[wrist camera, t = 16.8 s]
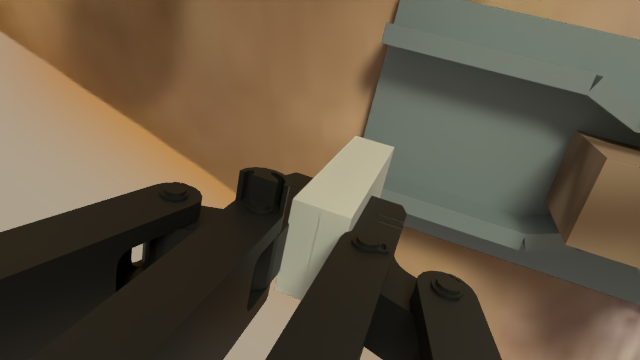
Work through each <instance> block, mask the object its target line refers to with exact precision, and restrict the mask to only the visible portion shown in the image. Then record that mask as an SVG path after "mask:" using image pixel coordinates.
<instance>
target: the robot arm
mask: <svg viewBox="0 0 640 360" xmlns="http://www.w3.org/2000/svg"><path fill="white" fill-rule="evenodd" d="M394 148H395V147H392V146H389V145H385V144H382V143H379V142H375V141H372V140H369V139H365V138H362V137H358V136H355V137H354V138H353V139H352V140H351V141H350V142H349V143H348V144H347V145H346V146H345V147H344V148H343V149H342V150H341V151H340V152H339V153H338V154H337V155H336V156H335V157H334V158H333V159H332V160H331V161H330V162H329V163H328V164H327V165H326V166H325V167H324V168H323V169H322V170H321V171H320V172H319V173H318V174H317V175H316V176H315V177H314V178H312V177H309V176H306V175H303V174H300V173H297V172H296V173H292V174H288V175H284V174H282V173H280V172H277V171H275V170H271V169H267V168H258V167H252V168H245V169H243V170H240V174H239V180H238V187H237V194H236V200H235V201H234V202H232V203H231V204H230V205H228V206H227V207H226V208H224V209H219V208H213V207H207V206H201V201H202V195H201V193H200V191H198V190H197V189H196V188H194V187H191V186H189V185H187V184H184V183H181V184H180V183H179V182H173V183H161V184H156V185H153V186H150V187H146V188H143V189H140V190H137V191H133V192H130V193H127V194H124V195H120V196H117V197H114V198H111V199H107V200H104V201H101V202H98V203H94V204H91V205H88V206H85V207H81V208H78V209H75V210H72V211H68V212H65V213H62V214H59V215H55V216H52V217H49V218H46V219H42V220H39V221H36V222H33V223H29V224H26V225H23V226H19V227H16V228H13V229H10V230H7V231H3V232H0V360H223V359H224V358H225V356H226V355H227V354H228V352H229V351H230V349H231V348H232V347H233V345H234V344H235V343H236V341H237V340H238V338H239V337H240V336H241V334H242V333H243V332H244V330H245V329H246V327H247V326H248V325H249V323H250V322H251V320H252V319H253V318H254V316H255V315H256V314H257V312H258V311H259V309H260V308H261V307H262V305H263V304H264V303H265V301H266V299H267V296H268V292H269V288H270V283H271V282H272V280H273V279H274V278H275V276H276V275H277V279H276V284H275V288H274V290H276V291H279V292H281V293H284V294H286V295H289V296H292V297H294V298H297V299H300V300H301V302H300V304H299V305H298V307H297V309H296V310H295V312H294V314H293V315H292V317H291V319H290V320H289V322H288V324H287V325H286V327H285V329H284V330H283V332H282V333H281V335H280V337H279V338H278V340H277V342H276V343H275V345H274V346H273V348H272V350H271V351H270V353H269V355H268V356H267V358H266V360H360V357H361V354H362V350H363V348H364V347H365V348H367V349H369V350H370V351H371V352H373V353H374V354H376V355H377V356H378V357H380V358H381V359H383V360H502V359H501V356H500V354H499V351H498V349H497V346H496V344H495V341H494V339H493V336H492V334H491V331H490V328H489V326H488V323H487V321H486V318H485V316H484V313H483V311H482V308H481V306H480V303H479V301H478V298H477V296H476V294H475V293H474V291H473V290H472V288H471V287H470V286H468V285H467V284H466V283H465V282H464V281H462V280H461V279H459V278H458V277H456V276H454V275H451V274H447V273H444V272H439V271H427V272H423V273H421V274H420V275H419V276H418V278H416V277H414V276H412V275H411V274H409V273H408V272H406V271H405V270H404V269H402V268H401V267H400V266H399V264H398V263H397V262H396V260H395V257H394V253H395V250H396V247H397V244H398V241H399V237H400V234H401V231H402V228H403V225H404V222H405V219H406V216H407V213H406V211H405V209H404V207H403V205H400V204H396V203H393V202H390V201H387V200H384V199H381V198H380V196H381V192H382V189H383V185H384V182H385V179H386V175H387V172H388V168H389V165H390V161H391V158H392V154H393V151H394ZM140 244H143V255H142V260H140V261H138V262H133V263H132V261H131V253H132V248H133V247H136V246H138V245H140Z"/></svg>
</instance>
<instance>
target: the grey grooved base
mask: <svg viewBox="0 0 640 360" xmlns="http://www.w3.org/2000/svg"><path fill="white" fill-rule="evenodd" d="M381 43H383V44H387V45H388V47H387V51H386V54H385V58H384V62H383V66H382V69H381V73H380V77H379V81H378V84H377V88H376V92H375V96H374V99H373V103H372V107H371V111H370V114H369V118H368V122H367V126H366V129H365V133H364V137H363V138H365V139H369V140H372V141H375V142H379V143H382V144H385V145H389V146H392V147H395V148H394V151H393V154H392V158H391V161H390V165H389V168H388V172H387V175H386V179H385V182H384V185H383V189H382V192H381V196H380V198H381V199H384V200H387V201H390V202H393V203H396V204H400V205H403V207H404V209H405V211H406V213H407V216H406V219H405V222H404V225H403V226H404V227H407V228H410V229H413V230H416V231H419V232H422V233H425V234H428V235H431V236H434V237H437V238H440V239H443V240H446V241H449V242H452V243H455V244H458V245H461V246H464V247H467V248H470V249H473V250H476V251H479V252H482V253H485V254H488V255H491V256H494V257H497V258H500V259H503V260H506V261H509V262H512V263H515V264H518V265H521V266H524V267H527V268H530V269H533V270H536V271H539V272H542V273H545V274H547V275H550V276H553V277H556V278H559V279H562V280H565V281H568V282H571V283H574V284H577V285H580V286H583V287H586V288H589V289H592V290H595V291H598V292H601V293H604V294H607V295H610V296H613V297H616V298H619V299H622V300H625V301H628V302H631V303H634V304H637V305H640V268H636V267H633V266H630V265H627V264H624V263H621V262H618V261H615V260H611V259H608V258H605V257H602V256H599V255H596V254H593V253H590V252H587V251H583V250H580V249H577V248H574V247H571V246H568V245H565V243H564V241H563V239H562V237H561V235H560V232H559V230H558V228H557V226H556V224H555V221H554V219H553V217H552V215H551V213H550V211H549V208H548V206H547V204H546V202H545V199H546V196H547V194H548V192H549V190H550V188H551V185H552V183H553V181H554V179H555V176H556V174H557V172H558V170H559V167H560V165H561V163H562V161H563V159H564V156H565V154H566V152H567V150H568V147H569V145H570V143H571V141H572V138H573V136H574V134H575V132H576V130H578V131H582V132H585V133H589V134H593V135H596V136H600V137H604V138H607V139H611V140H615V141H619V142H622V143H626V144H630V145H633V146H637V147H640V40H638V39H634V38H630V37H625V36H621V35H616V34H612V33H607V32H603V31H599V30H594V29H590V28H585V27H581V26H576V25H572V24H567V23H563V22H559V21H554V20H550V19H545V18H541V17H536V16H532V15H527V14H523V13H519V12H514V11H510V10H505V9H501V8H496V7H492V6H487V5H483V4H479V3H474V2H470V1H465V0H400V2H399V6H398V10H397V13H396V17H395V21H394V23H386V26H385V30H384V34H383V38H382V42H381Z"/></svg>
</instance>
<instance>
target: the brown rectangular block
mask: <svg viewBox="0 0 640 360" xmlns="http://www.w3.org/2000/svg"><path fill="white" fill-rule="evenodd" d="M545 202H546V204H547V206H548V208H549V211H550V213H551V215H552V217H553V219H554V221H555V224H556V226H557V228H558V230H559V232H560V235H561V237H562V239H563V241H564V243H565V245H568V246H571V247H574V248H577V249H580V250H583V251H587V252H590V253H593V254H596V255H599V256H602V257H605V258H608V259H611V260H615V261H618V262H621V263H624V264H627V265H630V266H633V267H636V268H640V147H637V146H633V145H630V144H626V143H622V142H619V141H615V140H611V139H607V138H604V137H600V136H596V135H593V134H589V133H585V132H582V131H578V130H576V132H575V134H574V136H573V138H572V141H571V143H570V145H569V147H568V150H567V152H566V154H565V156H564V159H563V161H562V163H561V165H560V167H559V170H558V172H557V174H556V176H555V179H554V181H553V183H552V185H551V188H550V190H549V192H548V194H547V196H546V199H545Z"/></svg>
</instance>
